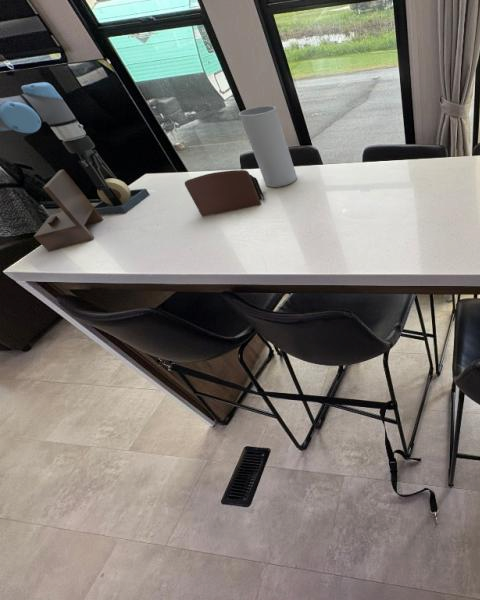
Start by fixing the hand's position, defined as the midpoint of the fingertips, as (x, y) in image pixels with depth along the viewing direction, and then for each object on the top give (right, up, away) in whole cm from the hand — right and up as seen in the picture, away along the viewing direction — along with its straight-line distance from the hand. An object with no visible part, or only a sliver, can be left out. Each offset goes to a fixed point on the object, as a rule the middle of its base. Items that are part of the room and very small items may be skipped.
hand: (120, 200), depth 123 cm
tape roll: (0, +3, -2) cm, 3 cm away
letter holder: (+50, -6, -10) cm, 51 cm away
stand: (+2, -18, -17) cm, 25 cm away
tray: (0, -1, +1) cm, 2 cm away
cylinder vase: (+61, +9, +5) cm, 62 cm away
